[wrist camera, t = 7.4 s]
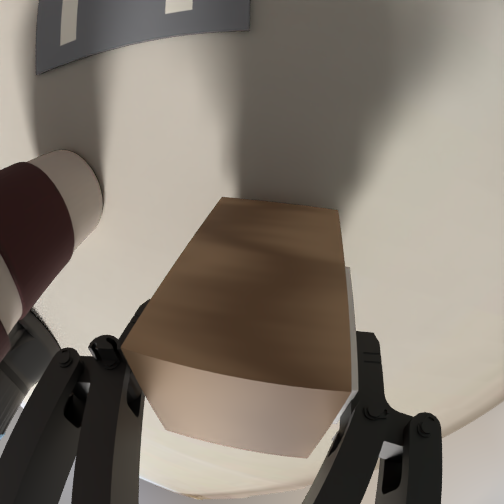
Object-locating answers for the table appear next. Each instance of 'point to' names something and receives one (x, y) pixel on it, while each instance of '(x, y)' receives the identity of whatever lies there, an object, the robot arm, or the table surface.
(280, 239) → the walnut block
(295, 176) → the table surface
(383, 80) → the table surface
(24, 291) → the coffee cup
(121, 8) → the letter mat
